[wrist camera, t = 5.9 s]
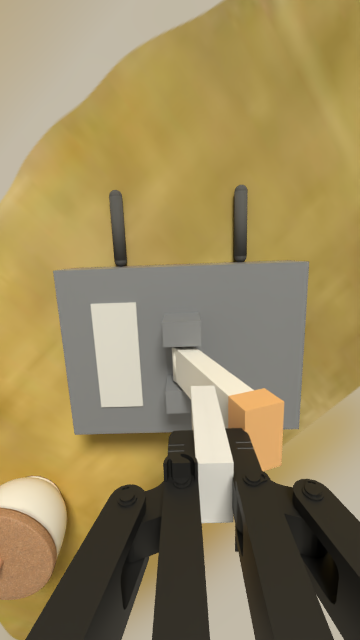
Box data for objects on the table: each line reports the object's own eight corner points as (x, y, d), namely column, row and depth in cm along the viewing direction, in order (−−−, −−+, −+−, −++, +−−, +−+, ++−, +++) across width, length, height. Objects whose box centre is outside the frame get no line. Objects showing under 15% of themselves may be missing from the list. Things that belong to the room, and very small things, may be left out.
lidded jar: (96, 508, 37) (68, 593, 27) (30, 543, 38) (-19, 635, 29) (45, 445, 35) (-5, 513, 25) (-24, 483, 36) (-94, 562, 27)
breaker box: (288, 260, 29) (329, 262, 21) (281, 403, 33) (314, 453, 25) (74, 268, 30) (32, 273, 22) (90, 408, 33) (60, 459, 25)
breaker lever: (190, 337, 25) (284, 401, 14) (191, 375, 26) (281, 465, 15) (166, 341, 25) (245, 411, 13) (168, 380, 26) (244, 477, 14)
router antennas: (246, 186, 28) (248, 183, 27) (245, 261, 30) (247, 262, 28) (110, 191, 28) (107, 189, 27) (116, 266, 30) (113, 267, 29)
